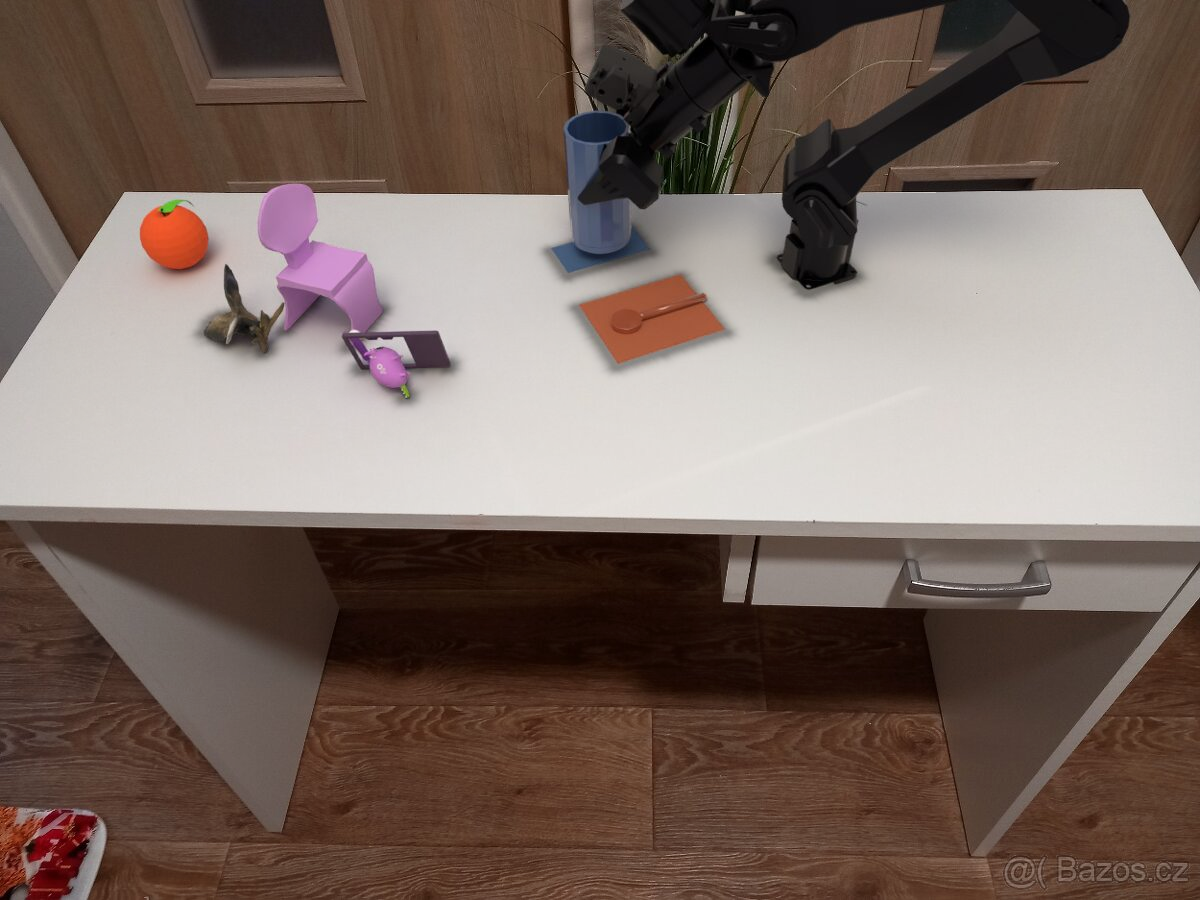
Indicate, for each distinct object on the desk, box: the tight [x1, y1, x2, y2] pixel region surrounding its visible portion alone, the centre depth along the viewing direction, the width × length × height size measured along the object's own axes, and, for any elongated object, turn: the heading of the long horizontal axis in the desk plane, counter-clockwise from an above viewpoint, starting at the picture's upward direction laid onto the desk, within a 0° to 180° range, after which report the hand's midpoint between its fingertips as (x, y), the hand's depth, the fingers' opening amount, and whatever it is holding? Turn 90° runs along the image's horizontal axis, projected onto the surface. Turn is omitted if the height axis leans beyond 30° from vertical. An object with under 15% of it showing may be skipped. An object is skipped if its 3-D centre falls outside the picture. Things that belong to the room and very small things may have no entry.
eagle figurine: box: [203, 263, 286, 354], centre depth 92 cm, size 8×7×9 cm
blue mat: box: [551, 225, 651, 274], centre depth 101 cm, size 10×5×1 cm, turn 114°
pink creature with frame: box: [341, 329, 451, 399], centre depth 86 cm, size 7×5×9 cm
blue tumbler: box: [562, 110, 632, 254], centre depth 95 cm, size 7×7×13 cm
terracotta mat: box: [578, 274, 726, 365], centre depth 93 cm, size 12×10×1 cm
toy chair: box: [257, 183, 384, 347], centre depth 89 cm, size 8×9×15 cm
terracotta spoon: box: [611, 292, 708, 334], centre depth 93 cm, size 11×3×1 cm, turn 114°
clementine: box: [139, 199, 210, 270], centre depth 100 cm, size 8×7×7 cm
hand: (586, 182), depth 95 cm, fingers closed on blue tumbler, 6 cm apart
